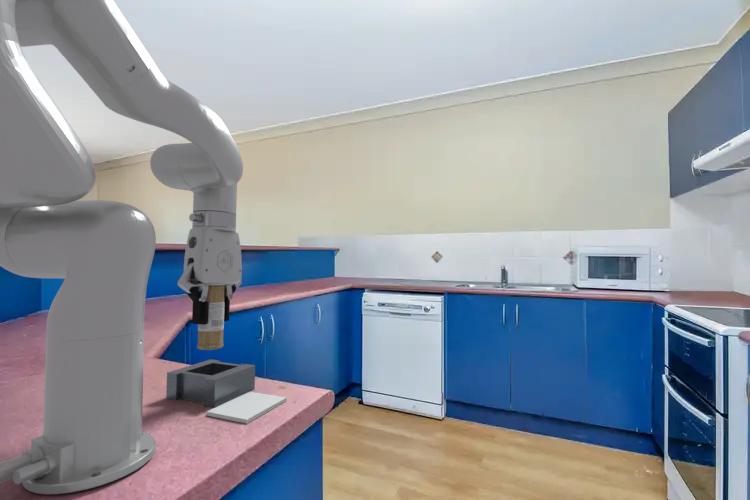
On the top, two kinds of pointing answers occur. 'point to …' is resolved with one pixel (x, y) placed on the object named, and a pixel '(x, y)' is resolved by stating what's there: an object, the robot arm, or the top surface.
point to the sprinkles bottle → (213, 320)
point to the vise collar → (210, 382)
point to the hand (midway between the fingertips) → (211, 321)
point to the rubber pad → (246, 407)
